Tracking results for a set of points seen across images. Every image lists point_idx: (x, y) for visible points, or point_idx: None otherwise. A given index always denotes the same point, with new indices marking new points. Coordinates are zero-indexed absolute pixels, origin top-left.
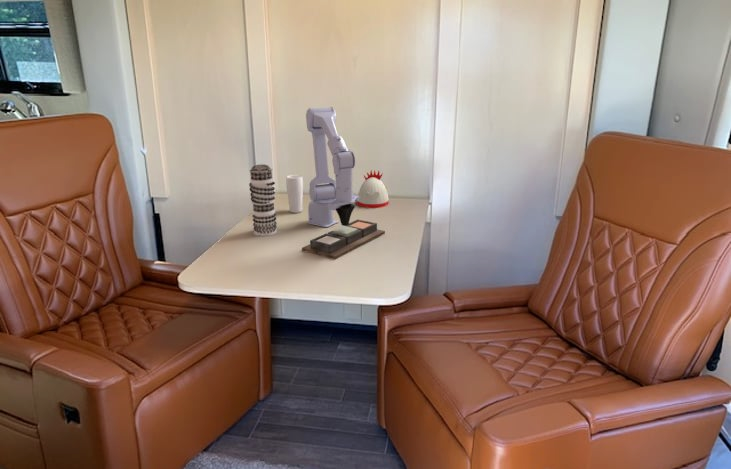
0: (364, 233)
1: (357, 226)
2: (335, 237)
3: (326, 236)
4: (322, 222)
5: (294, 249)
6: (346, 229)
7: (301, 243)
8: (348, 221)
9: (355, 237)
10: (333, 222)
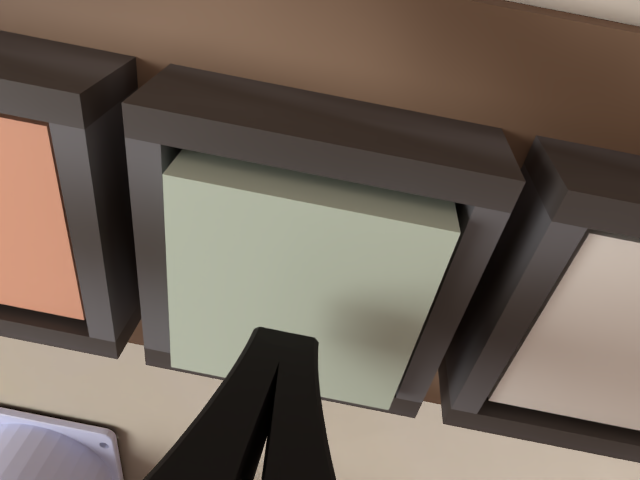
0: (92, 66)
1: (16, 231)
2: (527, 316)
3: (514, 396)
4: (92, 476)
5: (626, 464)
6: (277, 297)
7: (484, 460)
8: (261, 376)
9: (321, 113)
10: (7, 423)
